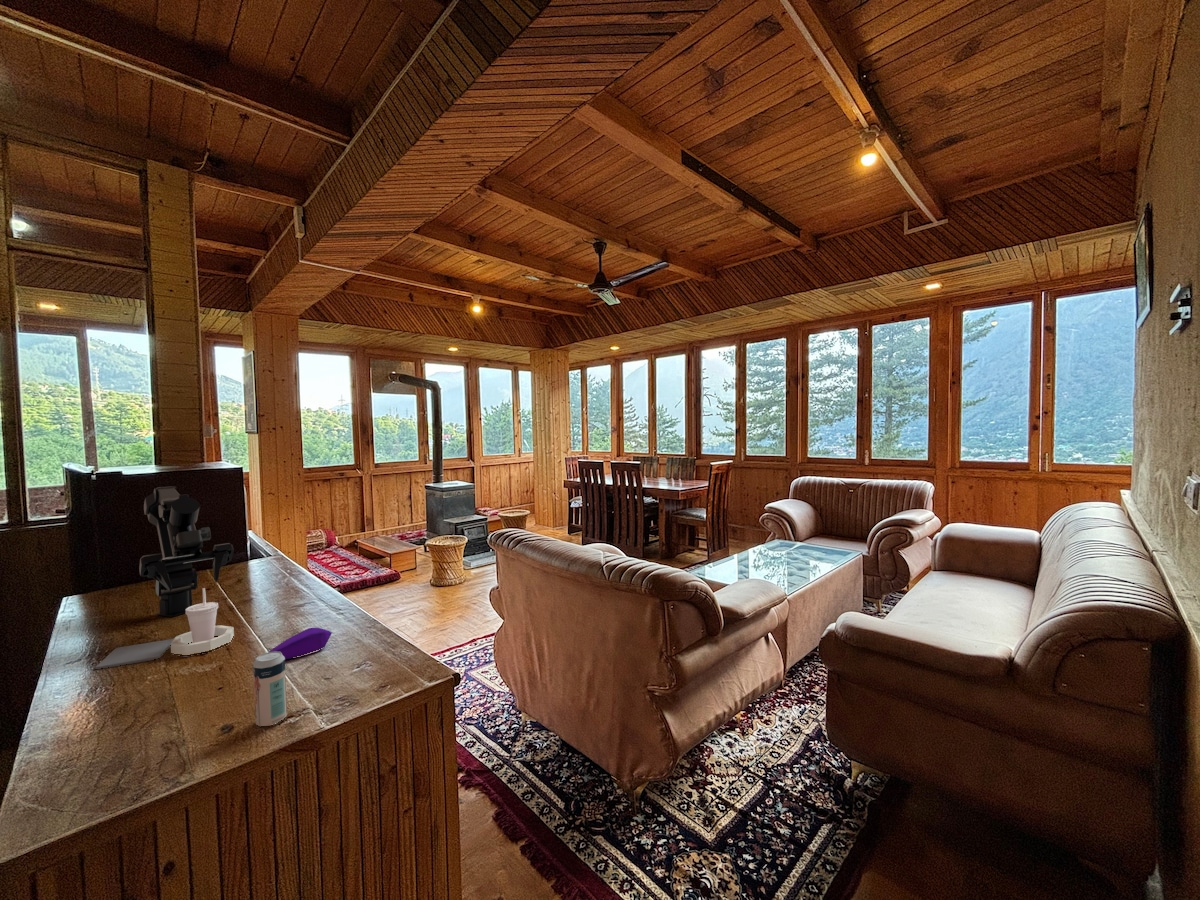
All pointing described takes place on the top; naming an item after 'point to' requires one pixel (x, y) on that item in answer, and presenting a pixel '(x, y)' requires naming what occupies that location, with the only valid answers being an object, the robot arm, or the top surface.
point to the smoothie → (202, 619)
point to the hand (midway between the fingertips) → (194, 585)
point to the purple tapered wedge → (303, 642)
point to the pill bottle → (270, 688)
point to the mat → (135, 654)
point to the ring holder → (184, 648)
